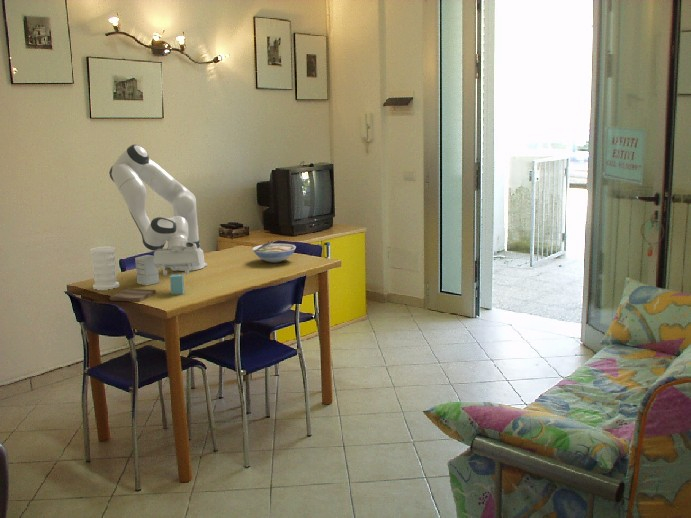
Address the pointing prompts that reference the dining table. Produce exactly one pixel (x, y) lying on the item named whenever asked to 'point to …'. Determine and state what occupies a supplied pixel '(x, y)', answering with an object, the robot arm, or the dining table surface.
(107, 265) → the decorative container
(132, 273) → the dining table surface
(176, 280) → the teal block
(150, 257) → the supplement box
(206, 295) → the dining table surface
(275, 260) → the ramen bowl
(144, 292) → the walnut board
